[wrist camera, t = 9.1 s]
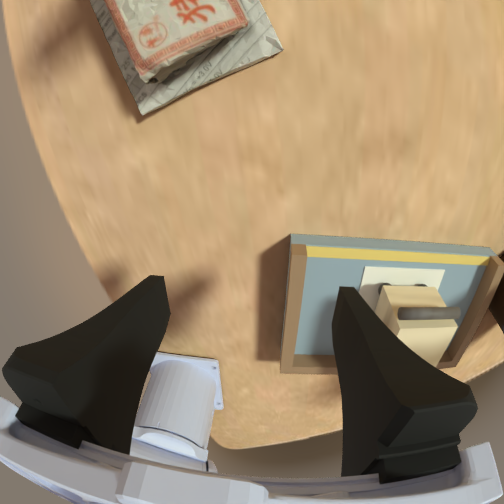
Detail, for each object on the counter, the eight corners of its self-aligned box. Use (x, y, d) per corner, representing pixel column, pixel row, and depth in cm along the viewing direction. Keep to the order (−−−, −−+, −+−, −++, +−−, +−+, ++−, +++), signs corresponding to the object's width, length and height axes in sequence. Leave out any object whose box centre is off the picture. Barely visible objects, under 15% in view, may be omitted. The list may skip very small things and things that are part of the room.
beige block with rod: (404, 341, 25) (420, 391, 20) (358, 342, 25) (369, 395, 20) (433, 267, 21) (463, 314, 16) (381, 264, 21) (405, 316, 16)
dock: (446, 346, 27) (455, 366, 24) (280, 348, 28) (279, 373, 26) (489, 247, 21) (506, 265, 18) (290, 233, 22) (291, 254, 20)
